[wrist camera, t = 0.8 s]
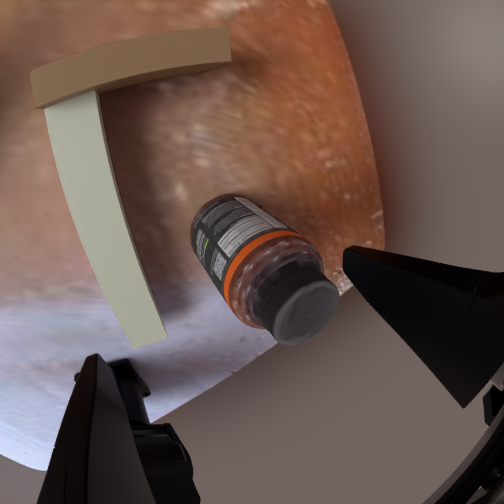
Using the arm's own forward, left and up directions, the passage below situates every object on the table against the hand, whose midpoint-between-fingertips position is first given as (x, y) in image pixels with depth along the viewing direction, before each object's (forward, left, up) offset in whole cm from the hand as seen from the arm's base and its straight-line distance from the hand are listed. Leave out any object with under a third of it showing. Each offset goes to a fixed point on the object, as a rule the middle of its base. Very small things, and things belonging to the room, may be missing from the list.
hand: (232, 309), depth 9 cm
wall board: (0, +1, -13) cm, 13 cm away
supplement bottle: (-4, -4, -13) cm, 14 cm away
